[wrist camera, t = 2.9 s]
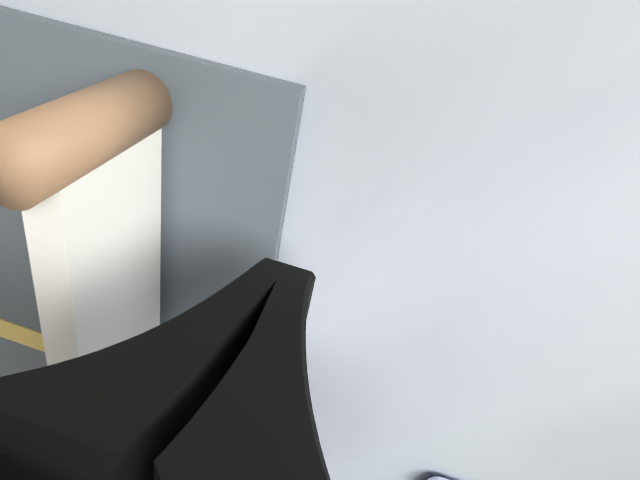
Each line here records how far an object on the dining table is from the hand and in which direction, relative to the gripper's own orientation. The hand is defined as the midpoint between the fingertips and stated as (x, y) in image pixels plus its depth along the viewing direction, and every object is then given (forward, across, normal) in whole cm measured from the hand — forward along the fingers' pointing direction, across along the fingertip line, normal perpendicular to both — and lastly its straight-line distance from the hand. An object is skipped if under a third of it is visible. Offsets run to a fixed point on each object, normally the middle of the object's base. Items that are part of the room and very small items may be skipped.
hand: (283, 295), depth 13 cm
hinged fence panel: (+2, +5, +1) cm, 5 cm away
